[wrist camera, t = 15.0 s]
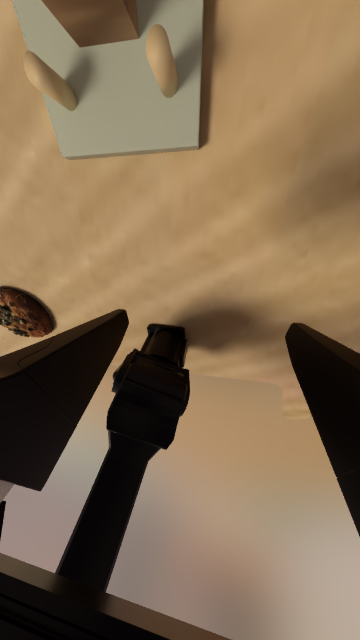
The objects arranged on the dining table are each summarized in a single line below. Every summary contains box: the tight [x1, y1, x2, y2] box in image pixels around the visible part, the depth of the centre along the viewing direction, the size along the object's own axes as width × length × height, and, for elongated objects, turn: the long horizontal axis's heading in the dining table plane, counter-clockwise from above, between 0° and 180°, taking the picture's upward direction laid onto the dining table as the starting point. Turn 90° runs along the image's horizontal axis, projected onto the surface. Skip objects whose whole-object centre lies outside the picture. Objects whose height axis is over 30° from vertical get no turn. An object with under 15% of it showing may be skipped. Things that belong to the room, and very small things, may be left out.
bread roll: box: [0, 288, 52, 337], centre depth 29 cm, size 11×11×5 cm
